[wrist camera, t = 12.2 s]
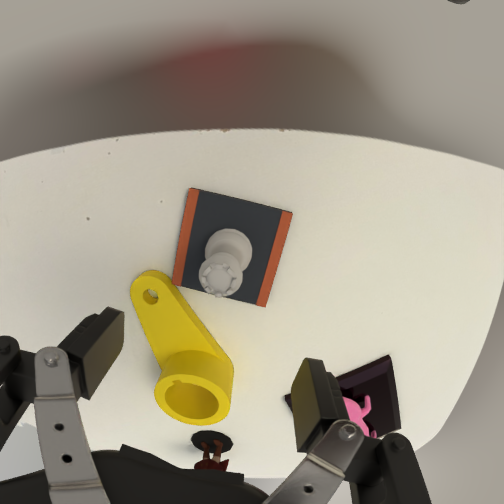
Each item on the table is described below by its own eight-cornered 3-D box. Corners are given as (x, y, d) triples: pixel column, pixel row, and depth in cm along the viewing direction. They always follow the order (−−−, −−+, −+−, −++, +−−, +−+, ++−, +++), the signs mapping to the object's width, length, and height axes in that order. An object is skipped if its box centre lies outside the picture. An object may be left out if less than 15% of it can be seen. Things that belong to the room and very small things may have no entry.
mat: (191, 187, 27) (189, 188, 26) (291, 212, 27) (292, 213, 27) (173, 280, 30) (171, 284, 29) (265, 303, 30) (265, 307, 29)
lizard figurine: (322, 458, 39) (327, 491, 32) (284, 394, 34) (288, 436, 27) (400, 428, 37) (413, 458, 30) (388, 353, 32) (410, 389, 25)
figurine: (219, 426, 36) (208, 511, 22) (242, 449, 38) (238, 526, 24) (183, 434, 37) (164, 511, 23) (207, 456, 39) (197, 527, 25)
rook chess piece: (245, 276, 28) (241, 315, 21) (202, 265, 28) (183, 300, 21) (257, 234, 27) (258, 260, 20) (212, 222, 27) (194, 243, 19)
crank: (244, 384, 33) (242, 418, 28) (187, 397, 34) (178, 429, 29) (178, 258, 29) (160, 279, 23) (117, 283, 30) (92, 306, 24)
